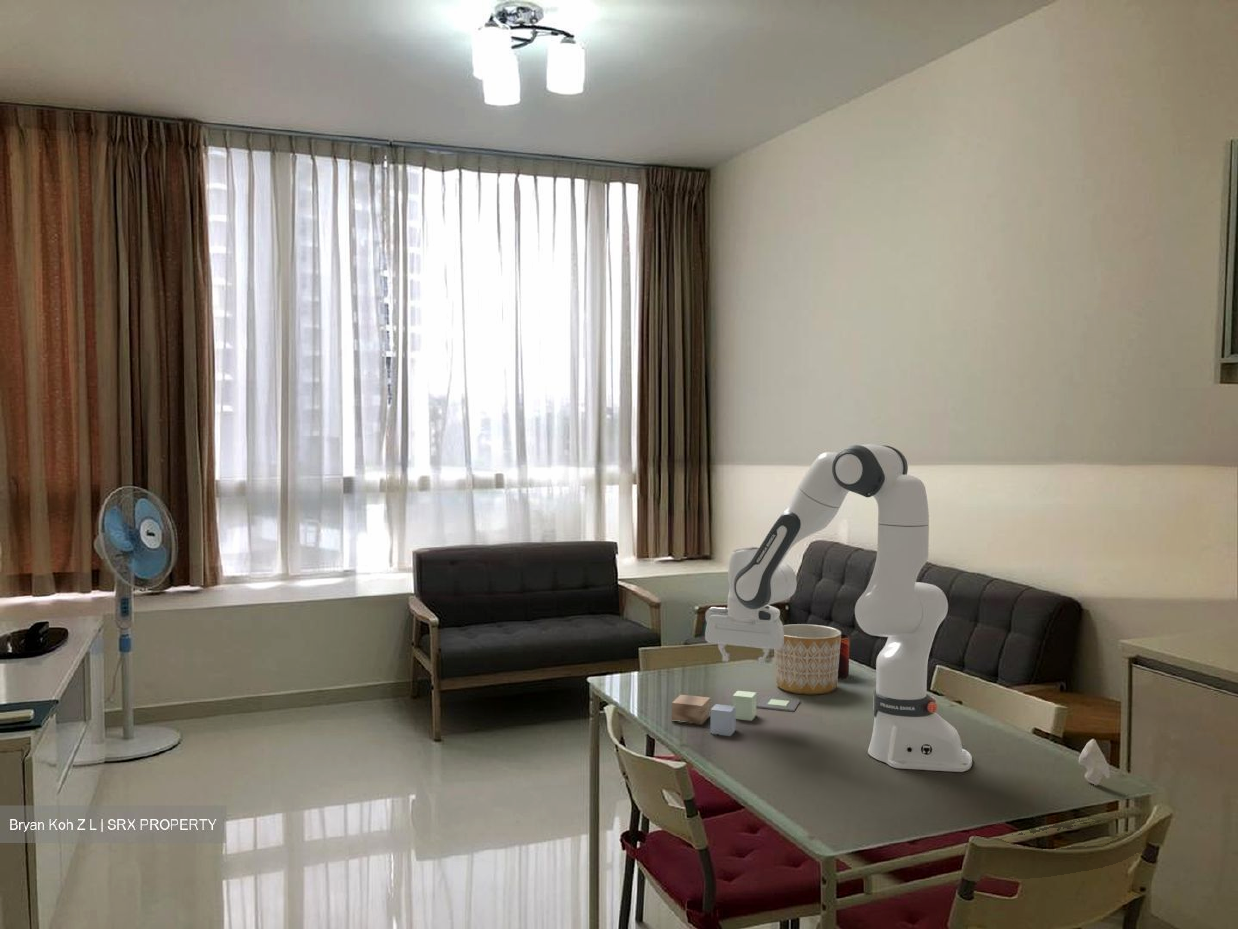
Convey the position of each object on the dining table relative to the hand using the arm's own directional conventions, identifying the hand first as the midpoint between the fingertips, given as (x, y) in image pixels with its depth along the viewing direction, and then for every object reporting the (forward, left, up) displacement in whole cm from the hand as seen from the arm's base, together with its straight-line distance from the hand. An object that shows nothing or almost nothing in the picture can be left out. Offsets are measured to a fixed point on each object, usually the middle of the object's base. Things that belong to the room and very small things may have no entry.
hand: (743, 662), depth 248 cm
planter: (-10, -34, -14) cm, 38 cm away
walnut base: (+12, +7, -14) cm, 20 cm away
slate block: (+2, +14, -14) cm, 20 cm away
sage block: (0, 0, -14) cm, 14 cm away
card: (-6, -14, -14) cm, 21 cm away
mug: (-14, -53, -14) cm, 57 cm away
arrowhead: (-80, +21, -14) cm, 84 cm away
